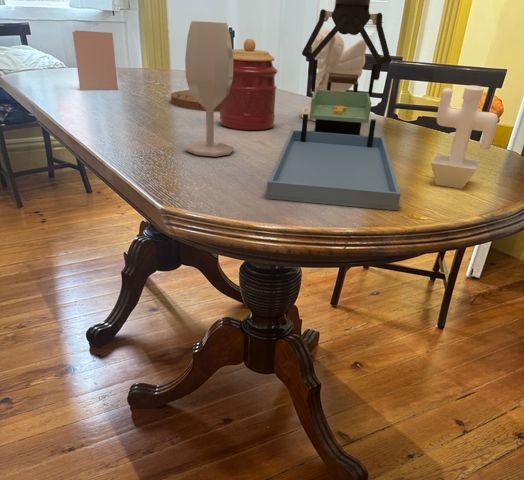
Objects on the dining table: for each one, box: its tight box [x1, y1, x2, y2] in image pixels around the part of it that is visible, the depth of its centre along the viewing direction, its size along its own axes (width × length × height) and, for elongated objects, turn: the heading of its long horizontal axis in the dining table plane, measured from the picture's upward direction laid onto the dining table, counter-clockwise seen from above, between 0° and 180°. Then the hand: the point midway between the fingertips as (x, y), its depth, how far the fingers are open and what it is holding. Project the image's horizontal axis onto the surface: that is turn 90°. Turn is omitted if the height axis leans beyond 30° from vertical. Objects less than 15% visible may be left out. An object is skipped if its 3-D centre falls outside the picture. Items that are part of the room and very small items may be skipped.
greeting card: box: [72, 29, 119, 91], centre depth 153 cm, size 11×7×15 cm, turn 84°
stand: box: [301, 114, 377, 148], centre depth 111 cm, size 14×15×6 cm
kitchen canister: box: [219, 38, 278, 131], centre depth 117 cm, size 13×13×18 cm
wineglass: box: [184, 20, 234, 158], centre depth 92 cm, size 9×9×21 cm
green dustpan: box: [310, 73, 372, 124], centre depth 113 cm, size 24×12×6 cm, turn 172°
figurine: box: [430, 84, 499, 190], centre depth 84 cm, size 7×9×15 cm
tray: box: [266, 129, 402, 211], centre depth 91 cm, size 40×19×2 cm, turn 172°
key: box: [333, 106, 347, 115], centre depth 109 cm, size 7×3×1 cm, turn 172°
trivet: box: [170, 89, 221, 112], centre depth 145 cm, size 25×25×2 cm
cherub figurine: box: [300, 27, 368, 122], centre depth 130 cm, size 13×12×20 cm
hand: (341, 93), depth 123 cm, fingers open, 13 cm apart
